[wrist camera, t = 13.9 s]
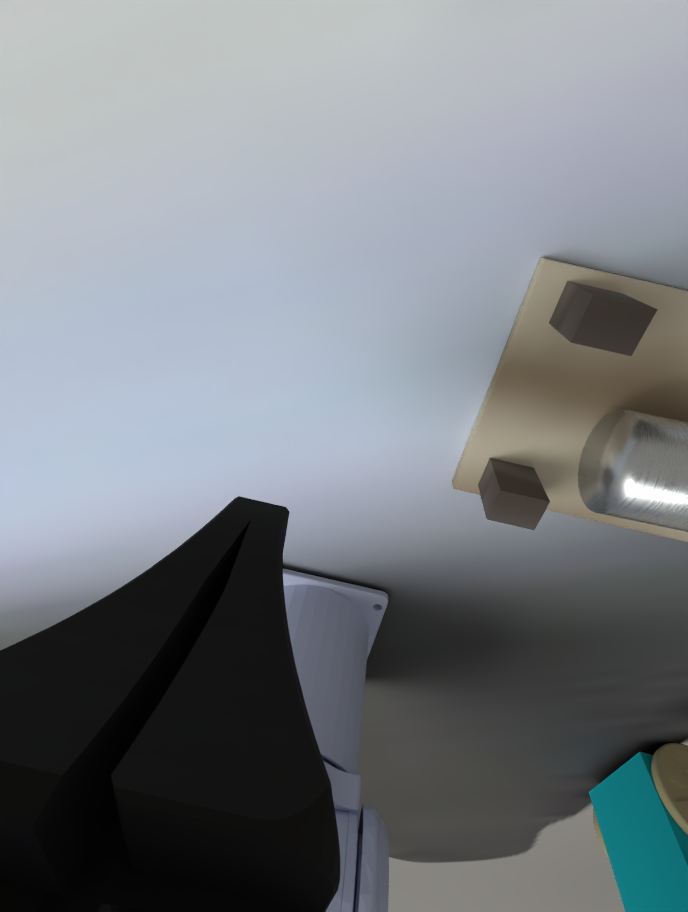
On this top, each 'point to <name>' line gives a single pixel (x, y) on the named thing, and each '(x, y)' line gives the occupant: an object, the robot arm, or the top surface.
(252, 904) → the robot arm
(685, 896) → the toy train
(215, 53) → the top surface
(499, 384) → the collar board
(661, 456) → the tube
